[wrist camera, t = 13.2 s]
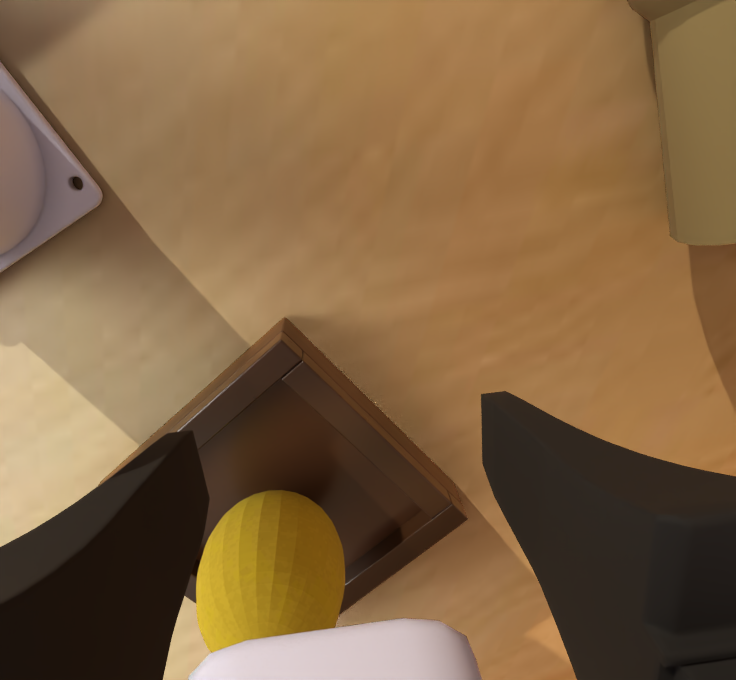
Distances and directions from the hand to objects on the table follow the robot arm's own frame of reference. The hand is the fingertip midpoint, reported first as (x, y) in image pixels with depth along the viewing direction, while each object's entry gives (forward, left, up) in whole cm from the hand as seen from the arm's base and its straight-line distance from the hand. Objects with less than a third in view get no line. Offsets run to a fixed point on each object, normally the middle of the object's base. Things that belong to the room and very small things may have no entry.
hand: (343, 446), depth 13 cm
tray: (+6, -7, -10) cm, 14 cm away
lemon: (+6, -7, -9) cm, 12 cm away
